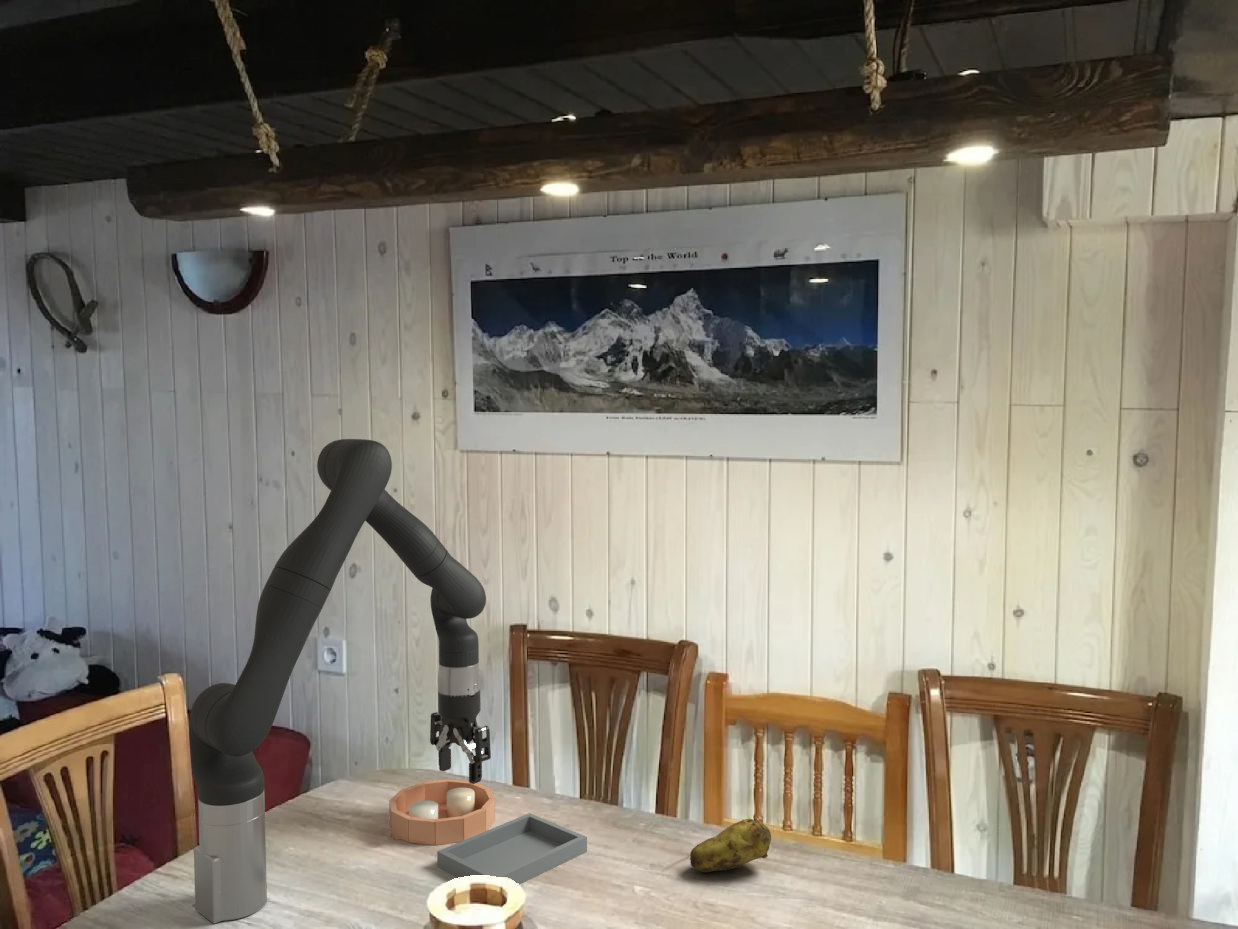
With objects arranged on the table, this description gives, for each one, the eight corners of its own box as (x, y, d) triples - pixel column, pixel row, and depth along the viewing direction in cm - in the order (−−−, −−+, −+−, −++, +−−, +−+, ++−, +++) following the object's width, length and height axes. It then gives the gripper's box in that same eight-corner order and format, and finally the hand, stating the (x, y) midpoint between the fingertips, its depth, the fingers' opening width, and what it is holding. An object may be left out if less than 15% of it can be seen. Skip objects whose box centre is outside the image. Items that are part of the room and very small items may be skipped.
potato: (693, 855, 166) (693, 808, 165) (771, 861, 164) (771, 813, 163) (688, 879, 158) (688, 829, 157) (770, 885, 156) (771, 835, 155)
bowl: (432, 860, 164) (432, 831, 163) (370, 828, 176) (369, 800, 176) (514, 825, 177) (514, 798, 177) (451, 798, 189) (451, 772, 189)
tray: (494, 902, 150) (494, 880, 150) (437, 872, 160) (437, 851, 159) (587, 857, 165) (587, 837, 165) (529, 832, 174) (529, 813, 174)
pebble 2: (458, 823, 176) (458, 801, 176) (441, 815, 179) (440, 793, 179) (480, 814, 180) (480, 792, 179) (462, 806, 183) (462, 785, 183)
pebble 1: (420, 837, 170) (420, 814, 170) (403, 828, 173) (403, 806, 173) (444, 828, 174) (443, 806, 173) (426, 820, 177) (426, 798, 177)
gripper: (417, 684, 180) (418, 772, 181) (468, 700, 170) (468, 793, 171) (451, 675, 185) (451, 760, 186) (501, 691, 176) (502, 780, 177)
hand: (460, 776), depth 179 cm, fingers open, 8 cm apart
